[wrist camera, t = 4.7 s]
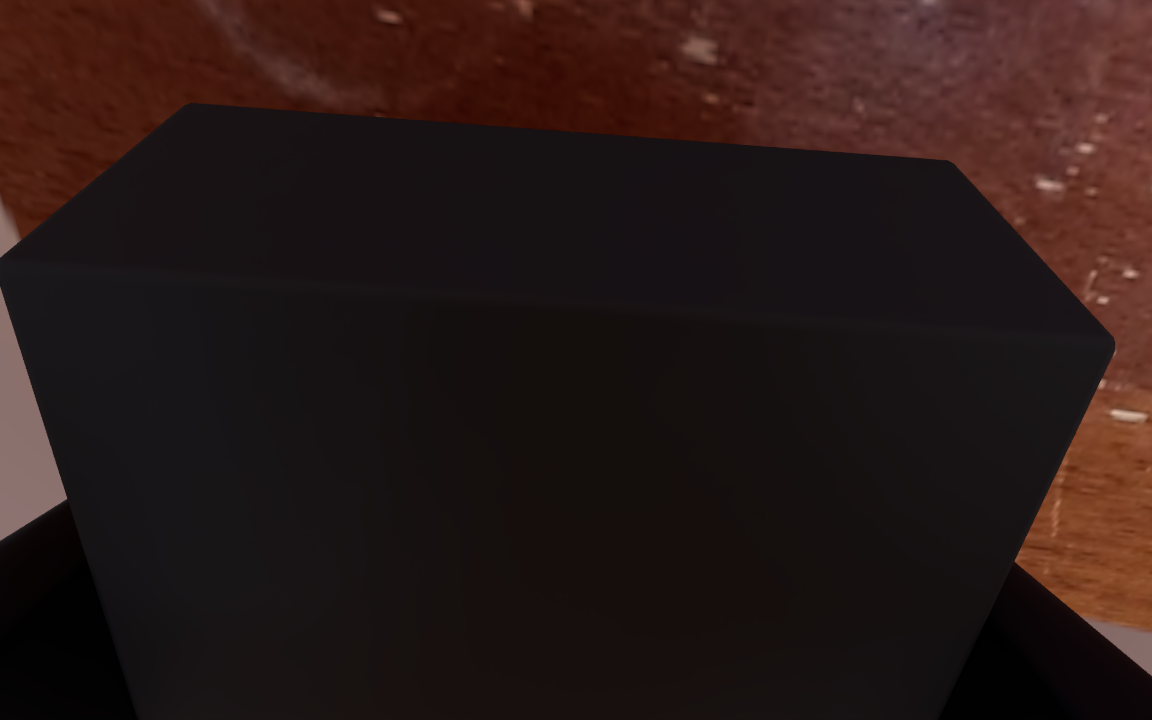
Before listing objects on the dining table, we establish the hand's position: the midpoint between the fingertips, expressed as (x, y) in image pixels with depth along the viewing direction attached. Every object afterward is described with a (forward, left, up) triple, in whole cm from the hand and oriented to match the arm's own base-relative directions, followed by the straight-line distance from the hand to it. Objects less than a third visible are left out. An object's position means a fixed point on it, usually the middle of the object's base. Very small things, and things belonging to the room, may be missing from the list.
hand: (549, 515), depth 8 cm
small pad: (0, 0, -1) cm, 1 cm away
